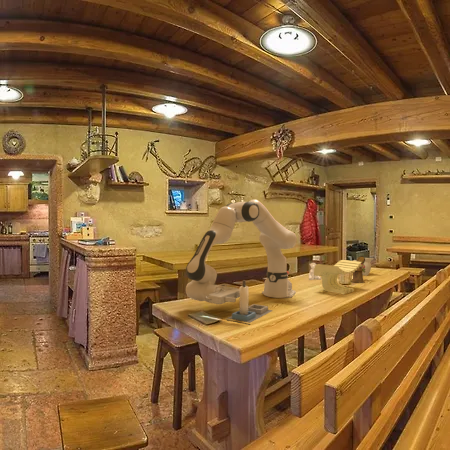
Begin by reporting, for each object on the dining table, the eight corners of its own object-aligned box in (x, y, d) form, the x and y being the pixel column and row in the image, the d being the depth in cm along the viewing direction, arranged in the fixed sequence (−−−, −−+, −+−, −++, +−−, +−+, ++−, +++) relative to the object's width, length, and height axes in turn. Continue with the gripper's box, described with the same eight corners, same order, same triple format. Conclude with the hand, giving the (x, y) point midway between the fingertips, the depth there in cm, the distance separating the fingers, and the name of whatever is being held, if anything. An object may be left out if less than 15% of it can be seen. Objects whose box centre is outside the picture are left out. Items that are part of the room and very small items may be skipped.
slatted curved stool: (337, 285, 251) (338, 259, 250) (360, 289, 239) (361, 261, 239) (313, 291, 230) (314, 263, 229) (337, 296, 218) (337, 266, 218)
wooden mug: (367, 281, 268) (368, 256, 268) (360, 283, 258) (361, 258, 257) (355, 279, 274) (356, 255, 274) (348, 281, 264) (349, 256, 263)
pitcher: (354, 272, 306) (354, 255, 305) (376, 275, 293) (376, 258, 293) (348, 274, 298) (348, 256, 297) (370, 277, 285) (371, 259, 285)
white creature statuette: (309, 280, 269) (309, 263, 268) (304, 278, 277) (305, 262, 277) (321, 279, 270) (322, 263, 270) (316, 277, 279) (316, 261, 278)
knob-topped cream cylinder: (242, 315, 172) (242, 278, 171) (249, 316, 170) (250, 279, 169) (237, 317, 169) (238, 280, 168) (245, 319, 167) (245, 281, 166)
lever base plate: (251, 308, 188) (251, 302, 188) (273, 312, 182) (273, 306, 182) (226, 320, 168) (226, 313, 168) (249, 324, 161) (249, 318, 161)
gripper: (202, 291, 168) (228, 295, 161) (226, 284, 186) (250, 287, 178) (202, 305, 169) (228, 309, 161) (226, 296, 186) (250, 300, 179)
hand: (240, 298), depth 170 cm, fingers open, 8 cm apart
